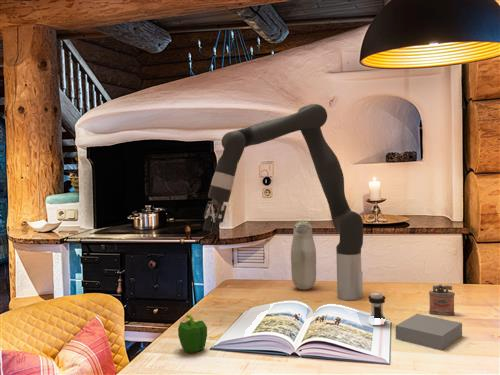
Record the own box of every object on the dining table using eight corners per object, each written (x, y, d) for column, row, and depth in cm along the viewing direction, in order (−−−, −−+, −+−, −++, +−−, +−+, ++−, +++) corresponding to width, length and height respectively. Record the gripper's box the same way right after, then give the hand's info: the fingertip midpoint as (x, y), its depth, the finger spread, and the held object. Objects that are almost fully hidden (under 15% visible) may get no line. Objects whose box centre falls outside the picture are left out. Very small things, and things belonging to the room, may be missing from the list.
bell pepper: (210, 353, 143) (209, 318, 142) (181, 357, 141) (180, 322, 140) (204, 343, 151) (203, 310, 150) (177, 346, 149) (175, 313, 148)
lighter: (429, 314, 170) (428, 285, 170) (429, 311, 173) (428, 283, 173) (454, 316, 168) (454, 286, 167) (454, 313, 171) (454, 284, 170)
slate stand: (417, 326, 160) (417, 313, 159) (462, 336, 150) (462, 322, 150) (395, 338, 150) (395, 325, 149) (442, 350, 140) (442, 336, 140)
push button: (385, 320, 166) (384, 290, 165) (392, 326, 160) (392, 295, 160) (365, 322, 164) (365, 292, 164) (372, 328, 159) (372, 296, 158)
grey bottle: (289, 286, 212) (287, 220, 210) (313, 285, 213) (312, 218, 211) (294, 292, 202) (292, 223, 200) (319, 291, 203) (317, 222, 201)
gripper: (238, 190, 171) (226, 237, 170) (224, 188, 184) (213, 231, 184) (218, 185, 168) (205, 232, 168) (205, 183, 181) (193, 227, 181)
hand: (209, 232), depth 176 cm, fingers open, 8 cm apart
